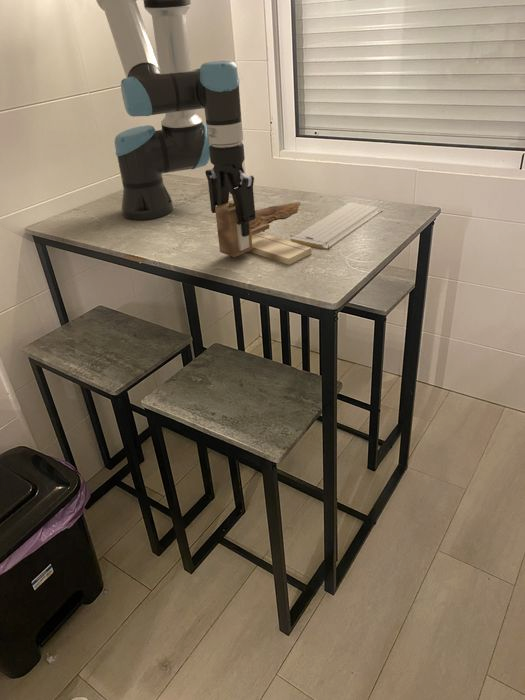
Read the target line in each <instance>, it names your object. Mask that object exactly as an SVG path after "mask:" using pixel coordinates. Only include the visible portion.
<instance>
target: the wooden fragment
mask: <svg viewBox="0 0 525 700" xmlns="http://www.w3.org/2000/svg"><path fill="white" fill-rule="evenodd" d="M300 205H301V202H300V201H297V202H292V203H291V202H290V203H285V204H282V205H280V204H279V205H274V206H269V207H264V208H262V209H255V219H254V220H252V221H250V223H251V229H254V228H256V227H258V226H261V225H263V224H265V223H266V224H269V223H272V222H273V221H277V220H281V219H285V218H289V217H290V216H291V215H293V214H297V213H298V212H299V206H300Z"/></svg>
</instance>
